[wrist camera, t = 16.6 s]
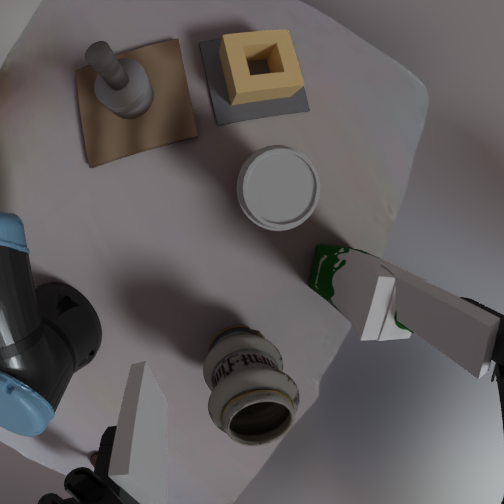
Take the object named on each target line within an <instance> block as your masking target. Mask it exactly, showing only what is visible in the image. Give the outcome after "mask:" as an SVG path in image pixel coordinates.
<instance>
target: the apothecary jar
mask: <svg viewBox="0 0 504 504" xmlns="http://www.w3.org/2000/svg"><path fill="white" fill-rule="evenodd" d="M282 371H283V361H282V357H281V355H280V353H279V351H278V349H277V348H276V347H275V346H274V345H273V344H272V343H271V342H270V341H268V340H266V339H265V338H264V336H263V335H262V334H261V333H260V332H259V331H253V330H250V329H249V327H248V326H233V327H229V328H227V329H224V330H223V331H221V332H220V333H218V334H217V335H216V336H215V337H214V339H213V340H212V342H211V344H210V348H209V354H208V355H207V357H206V359H205V362H204V368H203V374H204V379H205V381H206V384H207V385H208V387H209V388H210V389H211V391H212V393H211V395H210V398H209V402H208V410H209V414H210V417H211V419H212V421H213V422H214V424H215V425H216V426H217V427H218V428H219V429H220V430H222V431H223V432H225V433H227V434H228V436H229V437H230V438H231V439H232V440H234V441H235V442H237V443H239V444H242V445H247V446H260V445H265V444H268V443H271V442H274V441H276V440H278V439H279V438H281V437H282V436H284V435H285V434H286V433H287V432H288V431H289V430H290V429H291V427H292V425H293V423H294V419H295V413H296V411H297V408H298V405H299V391H298V388H297V386H296V384H295V382H294V381H293V380H292V379H291V378H290V377H289V376H288V375H287V374H285V373H283V372H282Z"/></svg>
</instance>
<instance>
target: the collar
mask: <svg viewBox="0 0 504 504" xmlns="http://www.w3.org/2000/svg"><path fill="white" fill-rule="evenodd" d="M219 55H220V60H221V64H222V68H223V72H224V77H225V81H226V85H227V90H228V94H229V98H230V103H231V105H237V104H243V103H249V102H255V101H262V100H269V99H277V98H286V97H291V96H292V95H293V94H295V93H296V92H297V91H298V90H299V89H301V88H302V87H303V86H304V82H303V78H302V74H301V71H300V67H299V64H298V60H297V57H296V53H295V50H294V47H293V43H292V40H291V37H290V34H289V31H288V30H267V31H254V32H243V33H234V34H226V35H223V36H222V40H221V45H220V50H219ZM262 59H267V63H268V67H269V71H270V73H268V74H259V75H251V76H250V72H249V68H248V64H247V61H253V60H262Z"/></svg>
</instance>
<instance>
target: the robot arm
mask: <svg viewBox="0 0 504 504" xmlns="http://www.w3.org/2000/svg"><path fill="white" fill-rule="evenodd" d="M29 253H30V252H29V249H28V248H27V244H26V238H25V232H24V226H23V222H22V220H21V219H20V218H19V217H18V216H17V215H15V214H13V213H0V426H1V427H3V428H5V429H7V430H9V431H11V432H13V433H16V434H19V435H23V436H36V435H39V434H41V433H42V432H43V431H44V430H45V429H46V427H47V425H48V423H49V421H50V420H51V419H52V418H53V417H54V414H55V411H56V409H57V407H58V404H59V402H60V400H61V398H62V396H63V394H64V392H65V390H66V388H67V385H68V383H69V381H70V379H71V377H72V375H73V373H75V372H76V371H78V370H79V369H81V368H83V367H84V366H86V365H87V364H89V363H90V362H91V361H92V360H93V358H94V357H95V355H96V353H97V351H98V349H99V347H100V344H101V340H102V329H101V324H100V321H99V318H98V316H97V313H96V311H95V310H94V308H93V307H92V305H91V304H90V302H89V301H88V300H87V299H86V298H85V297H84V296H83V295H82V294H81V293H80V292H78V291H77V290H75V289H74V288H72V287H70V286H68V285H65V284H62V283H57V282H50V283H45V284H42V285H40V286H39V287H37V288H36V289H35V287H34V282H33V277H32V272H31V266H30V260H29ZM395 288H396V309H397V321H399V322H400V323H401V324H403V325H404V326H406V327H407V328H408V329H410V330H411V331H413V332H414V333H416V334H417V335H418V336H420V337H421V338H423V339H424V340H425V341H427V342H428V343H429V344H431V345H432V346H434V347H435V348H437V349H438V350H439V351H441V352H442V353H443V354H445V355H446V356H447V357H449V358H450V359H452V360H453V361H454V362H456V363H457V364H458V365H460V366H461V367H463V368H464V369H465V370H467V371H468V372H469V373H471V374H472V375H473V376H475V377H476V378H477V379H479V378H480V377H481V376H483V375H484V374H485V373H486V372H487V371H488V370H489V367H490V363H491V360H493V361H494V362H496V365H495V368H494V371H493V375H492V378H491V382H493V381H494V377H495V376H496V378H497V380H496V381H497V383H498V390H499V396H500V403H501V411H502V420H503V430H504V315H502V314H500V313H498V312H496V311H494V310H492V309H490V308H488V307H485V306H484V305H482V304H479V303H478V302H476V301H474V300H472V299H469V298H464V297H460V298H459V297H457V296H455V295H453V294H451V293H449V292H447V291H445V290H443V289H441V288H439V287H436V286H434V285H432V284H430V283H428V282H426V281H424V280H422V279H420V278H418V277H415V276H413V275H411V274H409V273H407V272H404V273H402V274H399V275H397V276H395ZM167 419H168V401H167V399H166V398H165V396H164V394H163V392H162V391H161V389H160V387H159V385H158V384H157V382H156V380H155V378H154V376H153V374H152V372H151V371H150V369H149V367H148V365H147V363H146V361H144V362H140V363H136V364H132V365H131V368H130V372H129V376H128V380H127V384H126V388H125V392H124V397H123V401H122V405H121V410H120V414H119V419H118V424H117V426H111V427H108V428H107V429H106V431H105V432H104V434H103V435H102V438H101V442H100V447H99V451H98V454H99V455H97V460H96V464H95V469H94V472H93V471H91V470H90V469H89V468H85V467H81V468H76V469H74V470H72V471H71V472H70V473H69V474H68V475H67V477H66V478H65V481H64V487H65V491H67V492H68V493H69V494H70V495H71V496H73V497H72V498H68V499H64V500H63V499H62V498H61V497H59V496H58V495H57V494H54V493H49V494H46V495H44V496H42V498H41V499H40V500H39V502H38V504H168V496H167ZM501 504H504V498H503V501H502V503H501Z"/></svg>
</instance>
